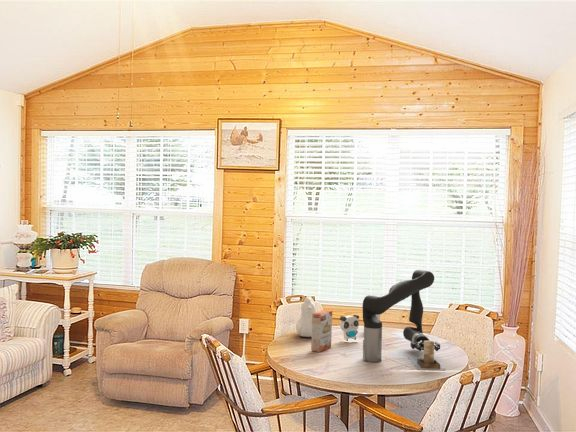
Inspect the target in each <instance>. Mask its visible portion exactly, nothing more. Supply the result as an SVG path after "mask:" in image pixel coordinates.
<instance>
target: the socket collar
mask: <svg viewBox="0 0 576 432" xmlns="http://www.w3.org/2000/svg"><path fill="white" fill-rule="evenodd" d="M435 359H436V358H435ZM435 359H434V364H423V359H417V363H418V364H419V365H420V367H421V368H437V369H436V370H441V369H440V364H441V363H440V362H439V361H438V360H437V359H436V360H437V361H438V362H439V363H440V364H439V363H438V362H437V361H436V360H435Z"/></svg>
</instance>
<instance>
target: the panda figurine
mask: <svg viewBox="0 0 576 432" xmlns="http://www.w3.org/2000/svg"><path fill="white" fill-rule="evenodd" d="M359 319H360V316H359V315H357V314H353V315H345V316H343V315H340V317H339V320H340V324H339V326H340V330H342V332H343V338H344V340H346V341H348V339H354V340H356V339H357V334H358V333H359V331H358V329H359V326H360V322H359Z"/></svg>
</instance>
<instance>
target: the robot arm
mask: <svg viewBox="0 0 576 432" xmlns="http://www.w3.org/2000/svg"><path fill="white" fill-rule="evenodd" d="M434 282H435V275H434V273H433V272H431V271H429V270H423V269H415V270H414V271H413V273H412V276H411V279H407V280H402V281H399V282H397V283H395V284H393V285H392V286H391V287H390V288H389V290H388V293H387V294H385V295H383V296H376V295H366V296H365V297H364V299H363V301H362V321H363V340H362V348H363V349H362V360H363V361H364V362H369V363H370V362H371V363H378V362H381V361H382V358H383V357H382V346H383V343H382V341H383V337H382V336H383V322H382V321H381V319H380V320H379V319H378V318H377V317H376V315H380V316H381V315H382V314H384V313H385V312H386V311H388V310H389V309H390V308H392V307H393V306H394V305H396V304H398V303H400V302H402V301H404V300H406V299H407V298H410V296H411V300H410V301H411V304H410V310H409V317H408V321H409V322H410V323H412V324H414V325H415V327H413V326H406V327H405V328H404V330H403V332H402V334H403V338H404V339H405V340H407V341H409V342H410V347H411V349H412V350H417V351H420V352H422V351H424V341H426V340H428V341H430V339H429V338H428V337H427V336H426V335H425V334H424V332H423V325H422V324H423V315H424V305H423V301H422V299H421V295H420V291H421V290H424V289H427V288H430V287H431V286H432V285H433V284H434ZM439 350H441V344H440V343H439V342H438V341H434V351H435V352H438V351H439Z"/></svg>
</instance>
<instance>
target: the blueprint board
mask: <svg viewBox="0 0 576 432" xmlns="http://www.w3.org/2000/svg"><path fill="white" fill-rule="evenodd" d="M406 357H407V358H408V360H409V361H410V362H411V363H412V365H413V366H414V367H415V368H416V370H438V369H437V368H421V367H420V365H419V364H418V363H417V359H423V358H424V355H422V356H417V355H409V356H408V355H407V356H406ZM434 359H435V360H436V361H437V362H438V363H439V364H440V369H439V370H442V371H445V370H446V368H445V367H444V366H443V365H442V364H441V362H439V361H438V360H437V359H436V358H435V357H434Z"/></svg>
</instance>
